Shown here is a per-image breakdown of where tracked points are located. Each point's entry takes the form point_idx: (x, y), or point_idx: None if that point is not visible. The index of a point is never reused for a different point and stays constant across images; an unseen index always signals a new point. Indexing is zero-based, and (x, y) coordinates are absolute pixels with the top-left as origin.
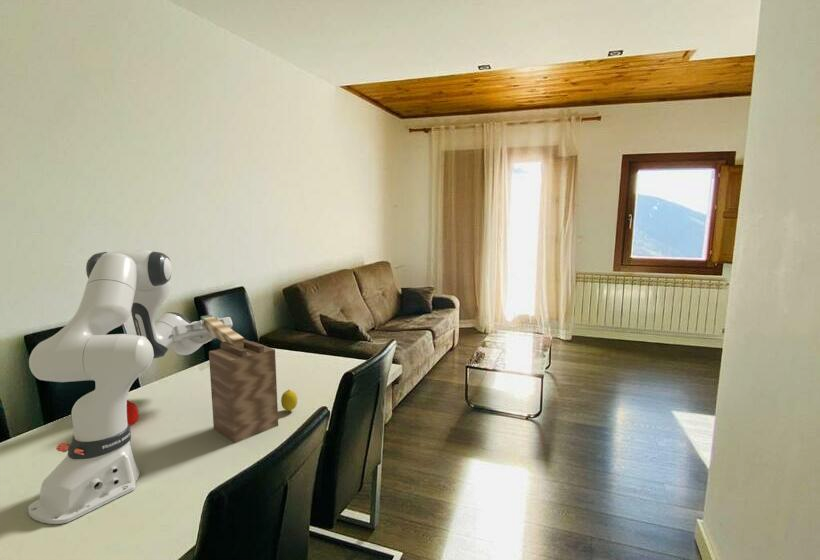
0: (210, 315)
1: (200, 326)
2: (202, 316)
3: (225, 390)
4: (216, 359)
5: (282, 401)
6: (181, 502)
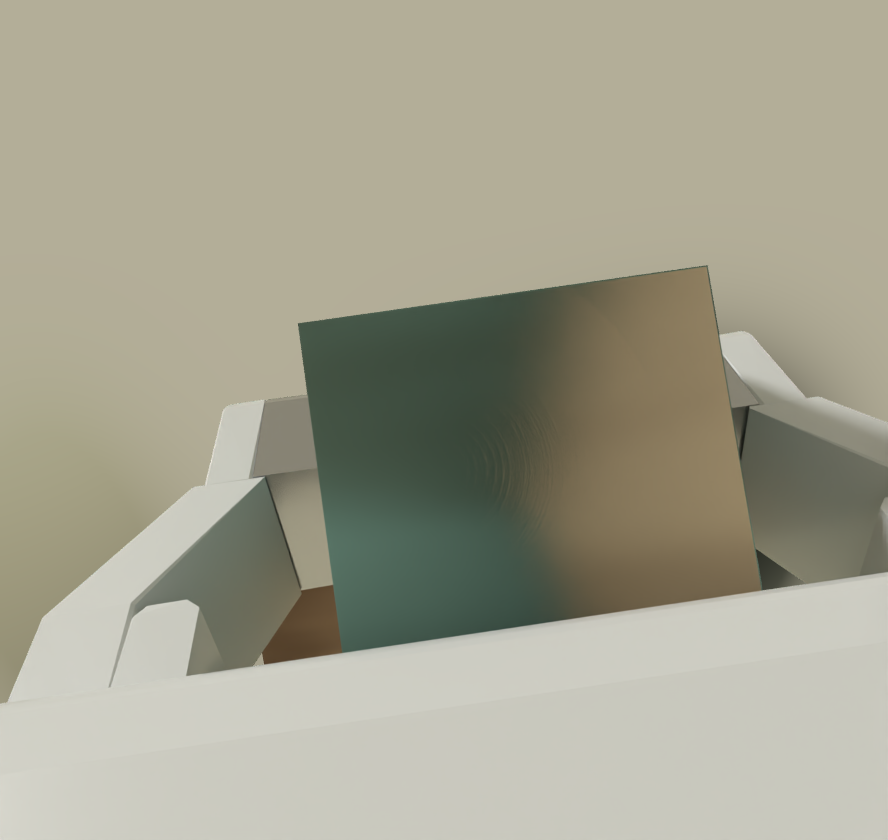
0: (342, 331)
1: (764, 526)
2: (640, 281)
3: None
4: None
5: None
6: None
